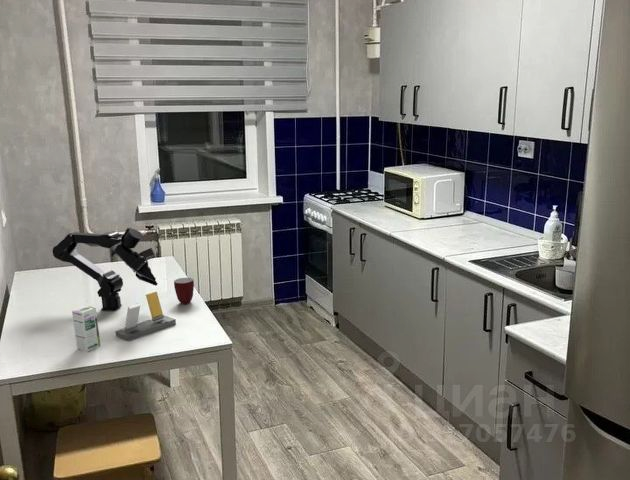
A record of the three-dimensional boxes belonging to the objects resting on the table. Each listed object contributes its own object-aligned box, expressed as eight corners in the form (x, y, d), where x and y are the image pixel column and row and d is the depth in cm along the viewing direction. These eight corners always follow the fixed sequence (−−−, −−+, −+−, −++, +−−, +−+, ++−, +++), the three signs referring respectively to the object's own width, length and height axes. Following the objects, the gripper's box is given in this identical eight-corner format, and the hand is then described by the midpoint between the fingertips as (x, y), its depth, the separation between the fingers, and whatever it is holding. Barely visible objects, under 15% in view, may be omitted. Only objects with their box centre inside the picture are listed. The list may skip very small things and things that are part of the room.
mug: (196, 306, 252) (194, 283, 250) (176, 309, 250) (174, 285, 248) (194, 298, 262) (192, 276, 260) (175, 301, 260) (173, 278, 258)
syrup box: (87, 352, 210) (82, 312, 206) (76, 348, 213) (71, 309, 209) (100, 346, 214) (96, 307, 211) (90, 343, 217) (85, 304, 214)
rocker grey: (124, 329, 222) (127, 306, 217) (134, 326, 225) (138, 303, 220) (126, 332, 221) (130, 308, 216) (136, 328, 224) (140, 305, 219)
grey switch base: (128, 341, 218) (127, 335, 217) (116, 336, 223) (115, 330, 222) (175, 324, 233) (175, 318, 233) (163, 319, 238) (162, 314, 238)
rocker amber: (152, 321, 230) (145, 294, 230) (162, 318, 234) (154, 291, 233) (154, 321, 229) (147, 294, 229) (164, 318, 233) (157, 291, 232)
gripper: (141, 236, 238) (169, 263, 237) (145, 248, 256) (172, 273, 255) (119, 255, 235) (148, 283, 234) (125, 266, 252) (152, 292, 251)
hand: (156, 282), depth 243 cm, fingers open, 9 cm apart
